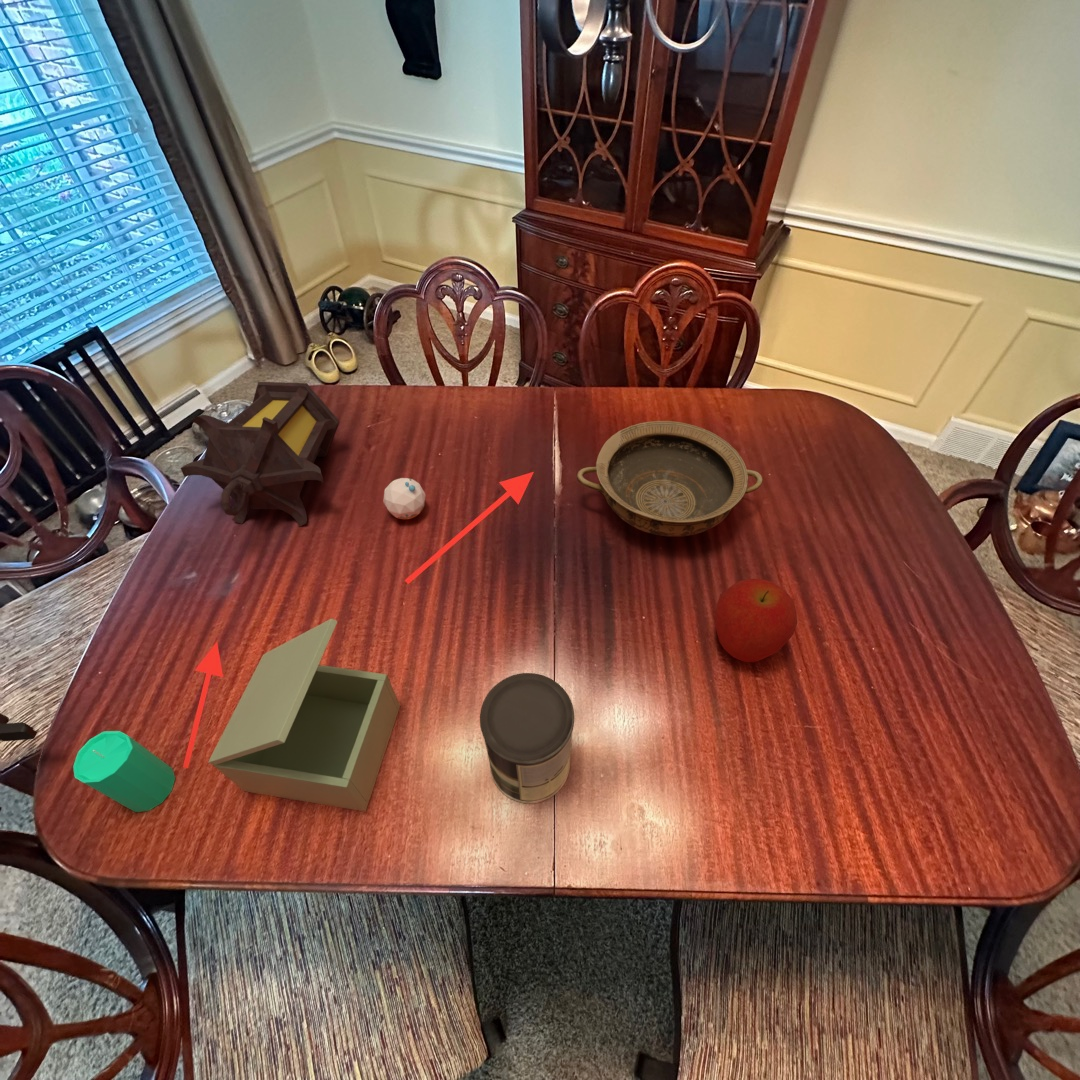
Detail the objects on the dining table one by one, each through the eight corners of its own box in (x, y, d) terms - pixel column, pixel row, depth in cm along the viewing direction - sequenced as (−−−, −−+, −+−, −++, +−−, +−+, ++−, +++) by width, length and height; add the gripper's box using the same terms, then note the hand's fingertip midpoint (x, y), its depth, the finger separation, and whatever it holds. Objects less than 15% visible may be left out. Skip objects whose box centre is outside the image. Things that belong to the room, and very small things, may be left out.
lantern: (367, 466, 119) (313, 570, 96) (252, 453, 119) (171, 554, 96) (355, 363, 105) (288, 457, 82) (224, 349, 105) (121, 439, 82)
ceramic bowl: (740, 465, 111) (754, 422, 103) (762, 567, 95) (781, 526, 88) (577, 459, 112) (579, 416, 105) (573, 559, 97) (575, 517, 89)
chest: (400, 705, 81) (386, 674, 74) (365, 811, 72) (346, 787, 66) (290, 689, 83) (267, 657, 76) (243, 791, 74) (212, 765, 67)
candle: (158, 816, 72) (101, 782, 63) (112, 808, 73) (50, 773, 64) (184, 766, 76) (134, 728, 67) (141, 759, 77) (86, 720, 68)
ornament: (384, 527, 102) (373, 494, 96) (394, 497, 107) (384, 463, 101) (423, 529, 102) (415, 496, 96) (431, 499, 106) (424, 465, 100)
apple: (785, 631, 88) (817, 574, 77) (769, 688, 82) (802, 635, 71) (715, 606, 91) (737, 547, 80) (696, 659, 85) (717, 603, 75)
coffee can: (479, 794, 74) (467, 751, 63) (501, 716, 80) (493, 664, 69) (562, 813, 72) (564, 772, 61) (577, 732, 78) (582, 681, 68)
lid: (338, 621, 66) (331, 617, 66) (284, 743, 57) (277, 739, 57) (268, 656, 76) (263, 654, 76) (214, 765, 67) (207, 762, 67)
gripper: (-215, 842, 60) (-45, 827, 60) (-126, 706, 69) (21, 695, 69) (-149, 859, 65) (7, 845, 66) (-74, 732, 74) (61, 721, 75)
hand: (14, 768), depth 68 cm, fingers open, 8 cm apart
